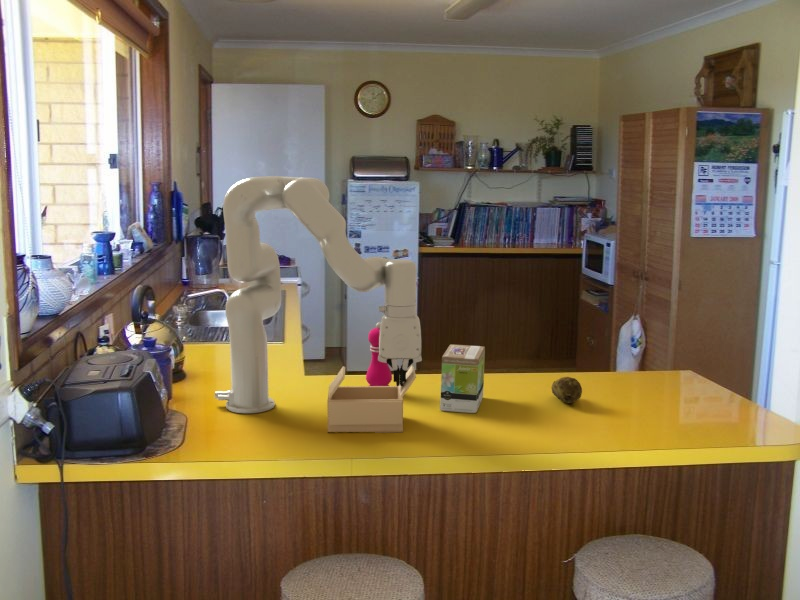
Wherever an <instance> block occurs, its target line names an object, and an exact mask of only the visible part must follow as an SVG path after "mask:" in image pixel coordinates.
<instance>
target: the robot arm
mask: <svg viewBox="0 0 800 600" xmlns="http://www.w3.org/2000/svg"><path fill="white" fill-rule="evenodd" d="M329 200H330V191H329V187H327V185H326V183H325V182H323V181H322V180H320V179H319V178H316V177H296V176H279V175H268V176H266V175H265V176H253V177H247V178H244V179H241V180H239V181H237V182H235V183H233V185H232V186H230V188H229V189H228V190H227V191H226V193H225V195H224V198H223V201H222V203H223V204H222V208H223V209H222V210H223V211H222V213H223V221H224V228H225V247H226V263H227V270H228V273H229V275H230V277H231V279H232V280H234V281H235V282H237V283H243V284H245V283H247V285H248V286H245V287H242V288H239V289H237V290H235V291H234V292H233V293H231V294H230V295H229V297H228V298H227V300H226V303H225V316H226V317H225V318H226V322H227V325H228V332H229V333H228V335H229V345H230V346H229V349H230V352H229V353H230V381H231V388H230V390H226V391H223V390H219V391H217V390H216V391H215V392H214V398H215V399H217V400H218V401H226V403H225V408H226V409H227V410H228V411H229V412H233V413H236V414H257V413H258V414H259V413H264V412H267V411H271V410H272V409H273V408H275V405H276V404H275V399H273V398H272V397H269V361H268V359H269V356H268V336H267V333H266V332H267V331H266V329H265V325H264V320H266V319H269V318H271V317H273V316H275V315H276V314H277V313H278V312H279V310H280V308H281V305H282V282H281V280H282V279H281V265H280V260H279V257H278V256H279V255H278V253H277V252H276V250H275V248H273V246H271V245H270V244H268V243H266V242H261V234H260V233H261V232H260V226H259V223H258V220H257V218H256V213H257V212H262V211H270V210H289V212H291V214H292V215H294V217H295V218H296V219H297V220H298V221H299V223H301V224H302V225H303V227H305V229H306V230H307V231H308V232H309V233H310V234H311V235H312V237H314V239H315V240H316V241H317V242H318V243H319V245H320V249H321V251H322V253H323V255H324V258H325V259H326V261H327V263H328V266H329V267H330V268H331V269H332V270H333V272H335V274H336V275H337V276H338V277H339V278H340V279H341V281H343V282H344V284H345V285H347V286H348V288H350V289H351V290H353V291H355V292H357V293H367V292H371V291H372V290H374V289H378V288H380V287H384V304H383V305H382V306H378V313H383V314H384V315H382V317H381V320H380V323H381V325H380V335H379V356H378V361H380V362H384V363H388V366H389V367H391V368H392V370H393V383H396V384H395V386H403V382H406V373H407V371H408V369H409V368H410V367H411V366H412V365H413V364H415V363H420V362H422V361H423V358H422V329H421V320H420V318H419V316H418V315H417V265H416V263H415V262H414V261H413V260H410V259H390V258H385V257H380V256H371V257H367V258H363V257H362V256H361V255H360V253H358V251H356V250H355V248H354V247H353V246H352V244H351V243H350V242H349V239H348V237H347V234H346V229H347V228H346V226H347V222H346V219H345V218H344V216H343V215H342V214H341V213H340V212H339V211H338V210H337V209H336V208H335V207H334V206H333V205H332V203H330V202H329ZM397 360H402V363H401V365H400V367H399V365H398V361H397Z"/></svg>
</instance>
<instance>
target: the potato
mask: <svg viewBox="0 0 800 600" xmlns="http://www.w3.org/2000/svg"><path fill="white" fill-rule="evenodd" d="M551 392H552V394H553V395H554V396H555V397H556V398H557V399H558V400H560V401H561V402H564V403H565V404H566V403H567V404H573V403H575V402H576V401H578V400H579V399H581V397H582V394H583V388H582V385H581V383H580V381H579V380H578V379H576V378H574V377H570V376H563V377H560V378H559V379H556V380H554V381H553V382H552V384H551Z"/></svg>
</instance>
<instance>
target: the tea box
mask: <svg viewBox="0 0 800 600" xmlns="http://www.w3.org/2000/svg"><path fill="white" fill-rule="evenodd" d="M485 355H486V347H485V346H482V345H481V346H480V345H468V344H466V345H465V344H449V346H448V347H447V349H446V350H445V352H444V353H443V355H442V357H441V377H440V381H441V384H440V400H439V403H440V404H439V411H444V412H453V413H454V412H456V413H468V414H469V413H470V414H476V413H477V412H478V410H479V407H480V404H481V403H482V400H483V398H484V384H485V383H484V382H485V380H484V379H485V361H486V360H485V358H486V356H485Z"/></svg>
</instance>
